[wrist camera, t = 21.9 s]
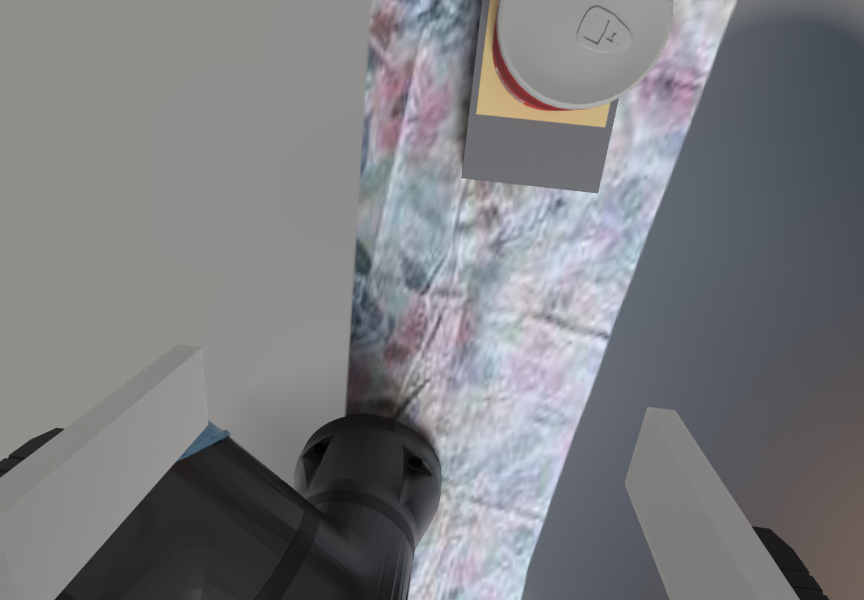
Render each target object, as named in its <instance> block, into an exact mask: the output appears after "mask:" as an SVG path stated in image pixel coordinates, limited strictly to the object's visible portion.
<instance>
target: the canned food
mask: <svg viewBox="0 0 864 600" xmlns="http://www.w3.org/2000/svg"><path fill="white" fill-rule="evenodd" d="M672 15H673V0H499V3H498V7H497V14H496V21H495V29H494V36H493V44H492V52H493V62H494V66H495V70H496V73H497V75H498V77H499V79H500V81H501V83H502V85H503V86H504V87H505V89H506V90H507V91H508V93H509V94H511V95H512V96H513V97H514V98H515V99H516V100H517V101H519V102H521V103H522V104H524V105H526V106H528V107H531V108H534V109H537V110H544V111H570V110H584V109H590V108H594V107H598V106H601V105H605V104H607V103H609V102H611V101H614V100H616V99H618V98H620V97H621V96H623V95H625V94H626V93H627V92H629V91H630V90H631V89H633V88H634V87H635V86H637V85H638V84H639V83H640V82H641V81H642V80H643V79H644V78H645V76H646V75H647V74H648V73H649V72H650V71H651V70H652V68H653V67H654V65H655V63H656V62H657V60H658V59H659V57H660V56H661V53H662V51H663V49H664V47H665V44H666V42H667V40H668V36H669V32H670V28H671V24H672Z"/></svg>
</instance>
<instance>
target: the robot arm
mask: <svg viewBox="0 0 864 600" xmlns="http://www.w3.org/2000/svg"><path fill="white" fill-rule="evenodd" d="M230 435H231V434H230V433H229V431H227V430H221V429H220V428H218V427H217V426H216V425H214V424H213V423H211V422H210V421H209V420H208V417H207V404H206V393H205V381H204V370H203V358H202V348H200V347H193V346H185V345H178V344H177V345H176V346H174V347H173V348H172V349H170V350H169V351H168V352H166V353H165V354H164V355H163V356H161V357H160V358H159V359H157V360H156V361H154V362H153V363H152V364H150V365H149V366H148V367H146V368H145V369H144V370H143V371H141V372H140V373H138V374H137V375H136V376H135V377H133V378H132V379H131V380H129V381H128V382H127V383H125V384H124V385H123V386H121V387H120V388H119V389H117V390H116V391H115V392H113V393H112V394H111V395H109V396H108V397H107V398H106V399H104V400H103V401H101V402H100V403H99V404H97V405H96V406H95V407H93V408H92V409H91V410H90V411H88V412H87V413H86V414H84V415H83V416H81V417H80V418H79V419H78V420H76V421H75V422H74V423H72V424H71V425H70V426H68V427H67V428H66V429H61V428H55V429H53V430H51V431H49V432H47V433H44V434H42V435H40V436H38V437H36V438H33V439H31V440H29V441H28V442H27V443H25V444H24V445H23V446H21V447H20V448H18V449H17V450H16V451H14V452H13V453H11V454H10V455H9V457H8V459H6V458H5V459H3V460H2V461H0V600H408V595H409V588H410V581H411V573H412V566H413V559H414V552H415V549H416V547H417V546H418V544H419V542H420V541H421V539H422V537H423V535H424V534H425V532H426V530H427V529H428V527H429V525H430V523H431V522H432V520H433V518H434V516H435V514H436V512H437V509H438V506H439V502H440V495H441V486H442V475H441V469H440V465H439V462H438V460H437V458H436V456H435V454H434V452H433V451H432V449H431V448H430V446H429V445H428V444H427V443H426V442H425V441H424V439H422V438H421V437H420V436H419V435H418V434H417V433H415V432H414V431H413V430H411V429H410V428H408V427H406V426H404V425H403V424H400V423H398V422H396V421H393V420H391V419H387V418H384V417H379V416H372V415H353V416H347V417H342V418H339V419H336V420H334V421H331V422H329V423H327V424H326V425H324V426H323V427H321V428H320V429H318V430H317V431H316V432H315V433H314V434H313V435H312V436H311V438H310V439H309V440H308V442H307V444H306V446H305V448H304V449H303V451H302V453H301V455H300V457H299V459H298V462H297V465H296V469H295V474H294V487H293V488H292V487H291V486H289V485H288V484H287V483H286V482H284V481H283V480H281V479H280V478H279V477H278V476H277V475H275V474H274V473H273V472H272V471H271V470H269V469H268V468H267V467H266V466H265V465H263V464H262V463H261V462H260V461H259V460H257V459H256V458H255V457H254V456H252V455H251V454H250V453H249V452H248V451H246V450H245V449H244V448H243V447H242V446H240V445H239V444H238V443H237V442H236V441H234V440H233V439H232V438H231V437H230ZM624 484H625V486H626V489H627V491H628V494H629V497H630V499H631V502H632V504H633V507H634V509H635V512H636V514H637V517H638V520H639V522H640V525H641V527H642V530H643V532H644V535H645V537H646V540H647V543H648V545H649V548H650V550H651V553H652V555H653V558H654V560H655V563H656V565H657V568H658V571H659V573H660V576H661V578H662V581H663V583H664V586H665V588H666V591H667V594H668V596H669V599H670V600H829V599H828V597H827V596H826V595H823V590H822V589H821V588H820V586H819V585H818V583H817V582H816V581H815V579H814V578H813V576H810V575H809V571H808V569H807V568H806V567H805V565H804V564H803V563H802V561H801V560H800V559H799V557H798V556H797V554H796V553H795V551H794V550H793V549H792V548H791V547H789V545H787V544H786V543H785V542H784V541H783V540H782V539H781V538H780V537H778V536H777V535H776V534H775V533H774V532H773V531H772V530H770V529H767V528H760V527H753V526H751V525H750V524H749V522H748V521H747V519H746V517H745V516H744V514H743V513H742V511H741V510H740V508H739V507H738V505H737V504H736V502H735V501H734V499H733V498H732V496H731V495H730V493H729V492H728V490H727V489H726V487H725V486H724V484H723V483H722V481H721V480H720V478H719V477H718V475H717V474H716V472H715V470H714V469H713V467H712V466H711V464H710V463H709V461H708V460H707V458H706V457H705V455H704V454H703V452H702V451H701V449H700V448H699V446H698V445H697V443H696V442H695V440H694V439H693V437H692V436H691V434H690V433H689V431H688V430H687V428H686V427H685V425H684V424H683V422H682V420H681V419H680V417H679V416H678V415H677V413H676V411H674V410H667V409H660V408H652V407H648V408H647V410H646V414H645V417H644V420H643V424H642V427H641V430H640V434H639V437H638V440H637V444H636V447H635V450H634V453H633V457H632V460H631V464H630V467H629V470H628V474H627V477H626V480H625V483H624Z"/></svg>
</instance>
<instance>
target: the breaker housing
mask: <svg viewBox="0 0 864 600" xmlns="http://www.w3.org/2000/svg"><path fill="white" fill-rule="evenodd" d="M498 3H499V0H482V7H481V15H480V24H479V32H478V41H477V50H476V58H475V67H474V75H473V84H472V93H471V101H470V110H469V118H468V127H467V136H466V144H465V153H464V161H463V170H462V178H465V179H474V180H483V181H492V182H501V183H510V184H519V185H528V186H537V187H546V188H555V189H564V190H573V191H582V192H591V193H598V191H599V186H600V181H601V177H602V172H603V168H604V163H605V159H606V154H607V149H608V145H609V140H610V136H611V131H612V126H613V122H614V117H615V113H616V108H617V104H618V99H619V98H618V99H616V100H614V101H611V102H609V103H607V104H605V105H601V106H598V107H594V108H590V109H584V110H570V111H544V110H537V109H534V108H531V107H528V106H526V105H524V104H522V103H521V102H519V101H517V100H516V99H515V98H514V97H513V96H512V95H511V94H509V93H508V91H507V90H506V89H505V87H504V86H503V85H502V83H501V81H500V79H499V77H498V75H497V73H496V70H495V66H494V62H493V52H492V44H493V36H494V29H495V21H496V14H497V7H498Z"/></svg>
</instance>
